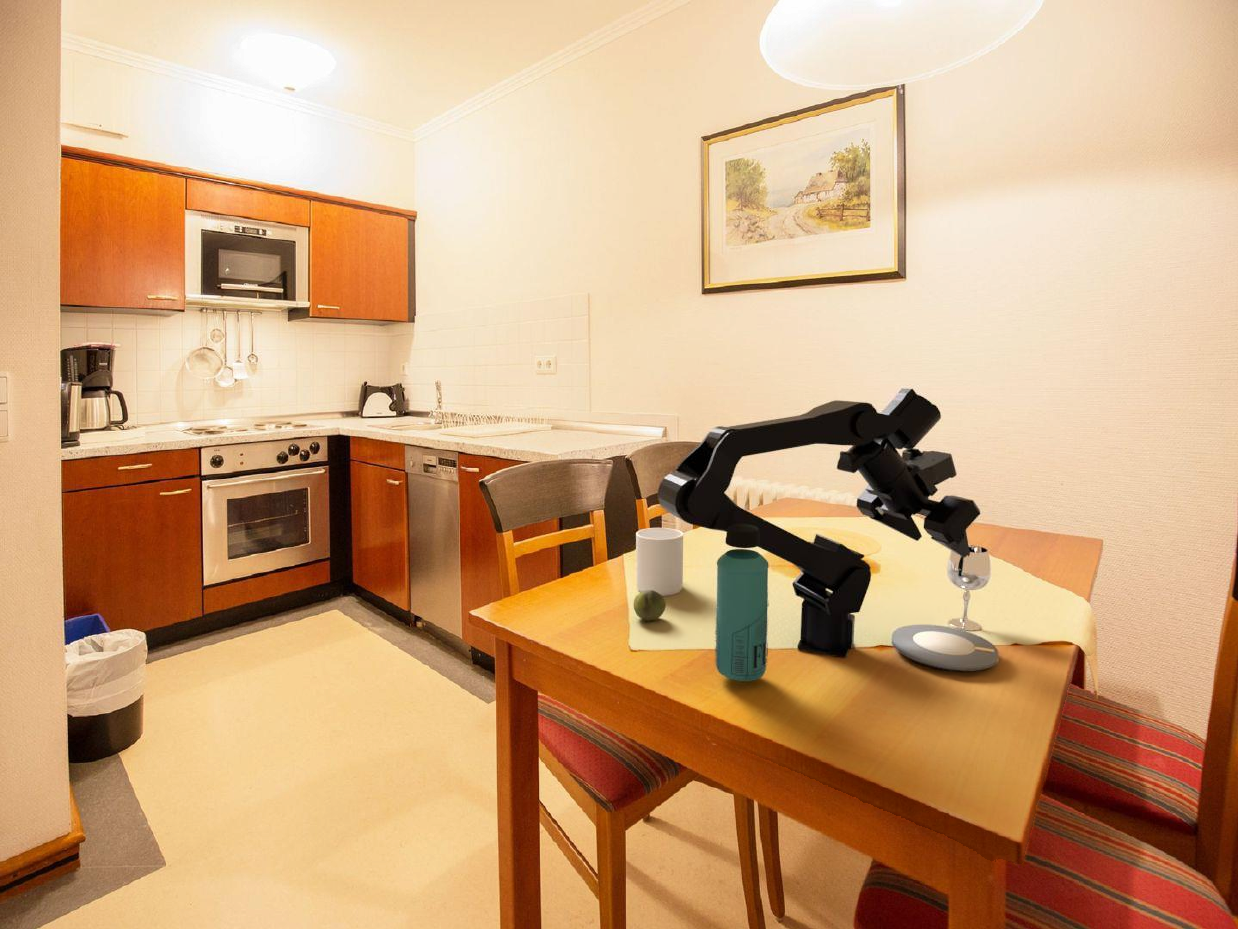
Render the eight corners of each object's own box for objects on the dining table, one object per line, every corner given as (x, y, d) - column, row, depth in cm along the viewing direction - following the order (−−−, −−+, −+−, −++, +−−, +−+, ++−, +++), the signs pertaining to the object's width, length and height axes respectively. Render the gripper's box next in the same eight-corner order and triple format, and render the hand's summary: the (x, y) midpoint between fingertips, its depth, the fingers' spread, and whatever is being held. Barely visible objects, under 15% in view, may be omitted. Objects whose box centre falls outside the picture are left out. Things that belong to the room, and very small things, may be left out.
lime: (629, 618, 102) (629, 588, 101) (655, 613, 104) (655, 583, 104) (644, 628, 98) (644, 597, 98) (670, 622, 101) (671, 591, 100)
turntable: (888, 658, 86) (888, 652, 86) (894, 624, 97) (895, 618, 97) (1002, 678, 80) (1002, 672, 80) (994, 639, 92) (994, 633, 92)
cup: (634, 596, 112) (634, 538, 111) (639, 574, 124) (639, 522, 123) (682, 597, 111) (683, 540, 110) (682, 575, 123) (683, 523, 122)
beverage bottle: (756, 698, 78) (760, 537, 74) (705, 684, 81) (707, 529, 78) (774, 675, 83) (779, 523, 79) (725, 662, 86) (728, 517, 83)
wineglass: (991, 633, 96) (998, 555, 94) (949, 630, 97) (955, 552, 95) (978, 619, 101) (984, 544, 100) (938, 616, 102) (944, 542, 101)
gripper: (977, 439, 83) (1033, 521, 87) (879, 426, 101) (930, 495, 105) (920, 500, 82) (979, 581, 86) (831, 477, 99) (885, 544, 104)
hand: (941, 546), depth 95 cm, fingers open, 9 cm apart
